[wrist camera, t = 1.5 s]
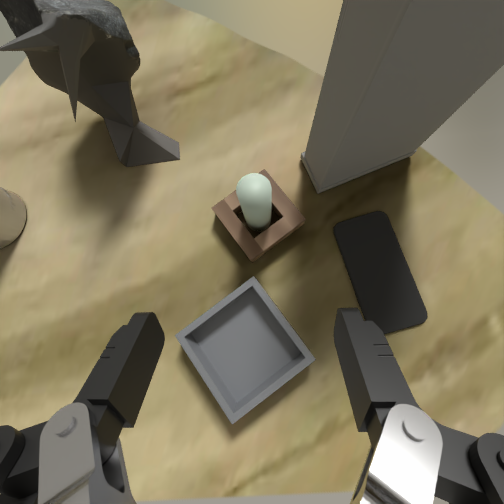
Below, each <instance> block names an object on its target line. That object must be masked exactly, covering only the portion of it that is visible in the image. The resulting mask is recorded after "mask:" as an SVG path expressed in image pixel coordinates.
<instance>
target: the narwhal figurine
mask: <svg viewBox="0 0 504 504" xmlns="http://www.w3.org/2000/svg"><path fill="white" fill-rule="evenodd" d="M0 11H1V12H2V14H3V15H4V17H5V18H6V20H7V22H8V24H9V26H10V28H11V29H12V31H13V33H14V34H15V36H16V39H14V40H12V41H10V42H9V43H7V44H5V45H3V46H1V47H0V51H24V52H25V53H26V55H27V57H28V59H29V62H30V65H31V67H32V69H33V70H34V72H35V73H36V74H37V75H38V77H39V78H40V79H41V80H42V81H43V82H44V83H46V84H47V85H49V86H51V87H54V88H56V89H58V90H61V91H63V92H65V93H67V94H68V95H69V98H70V102H71V106H72V110H73V115H74V119H75V122H76V108H77V101H79V102H80V103H82V104H84V105H85V106H87V107H88V108H90V109H91V110H93V111H94V112H96V113H97V114H99V115H100V116H102V117H103V118H104V121H105V123H106V126H107V129H108V131H109V134H110V137H111V139H112V142H113V145H114V147H115V150H116V153H117V155H118V158H119V161H120V162H121V163H122V164H124V165H125V166H126V167H130V166H137V165H144V164H151V163H158V162H165V161H172V160H179V159H180V153H179V143H178V142H177V141H175V140H173V139H171V138H169V137H167V136H166V135H164V134H162V133H160V132H158V131H157V130H155V129H153V128H151V127H149V126H147V125H146V124H144V123H142V122H140V121H139V117H138V113H137V110H136V106H135V102H134V98H133V95H132V91H131V77H132V75H133V74H134V73H135V72H136V71H137V70H138V68H139V66H140V58H139V52H138V50H137V48H136V47H135V45H134V43H133V39H132V37H131V35H130V33H129V31H128V28H127V25H126V23H125V21H124V18H123V17H122V14H121V11H120V9H119V8H118V7H116V6H114V5H113V4H112V3H111V2H109V1H105V0H0Z"/></svg>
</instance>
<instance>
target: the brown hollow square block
mask: <svg viewBox="0 0 504 504" xmlns="http://www.w3.org/2000/svg"><path fill="white" fill-rule="evenodd" d="M258 174H261V175H263V176H265V177H266V178H267V179H268V180H269V181H270V184H271V187H272V206H271V208H272V209H273V211H274V212H275V213H276V214H277V216H278V217H279V218H280V220H278V221H277V222H276V223H274V224H273V225H272V226H270V227H269V228H268V229H266V230H265V231H264V232H262V233H261V234H260V235H258V236H257V237H256V238H253V237H252V235H251V234H250V233H249V231H248V230H247V229H246V227H245V226H244V225H243V224H242V222H241V221H240V220H239V218H238V217H237V216H236V215H238V214H239V213H240V212H242V208H241V205H240V203H239V200H238V197H237V194H236V190H235V191H234V192H232V193H231V194H230V195H228V196H227V197H226V198H224V199H223V200H221V201H220V202H219V203H217V204H216V205H215V206H213V207H212V210H213V211H214V212H215V214H216V215H217V217H218V218H219V219H220V221H221V222H222V223H223V225H224V226H225V227H226V229H227V230H228V231H229V233H230V234H231V235H232V237H233V238H234V239H235V241H236V242H237V243H238V245H239V246H240V247H241V249H242V250H243V251H244V252H245V254H246V255H247V256H248V258H249V259H250V260H251V262H252V263H253V262H254V261H255V260H257V259H258V258H259V257H261V256H262V255H263V254H265V253H266V252H267V251H269V250H270V249H271V248H273V247H274V246H275V245H277V244H278V243H279V242H281V241H282V240H283V239H285V238H286V237H287V236H289V235H290V234H291V233H293V232H294V231H295V230H297V229H298V228H299V227H301V226H302V225H303V224H304V222H305V220H306V219H305V217H304V216H303V215H302V214H301V213H300V211H299V210H298V209H297V208H296V206H295V205H294V204H293V203H292V202H291V200H290V199H289V198H288V197H287V196H286V194H285V193H284V192H283V191H282V190H281V188H280V187H279V186H278V185H277V184H276V182H275V181H274V180H273V179H272V178H271V176H270V175H269V174H268V173H267V172H266V170H265V169H264V170H262V171H261V172H260V173H258Z"/></svg>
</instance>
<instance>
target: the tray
mask: <svg viewBox="0 0 504 504" xmlns="http://www.w3.org/2000/svg"><path fill="white" fill-rule="evenodd" d="M175 336H176V338H177V340H178V341H179V343H180V344H181V346H182V347H183V349H184V350H185V352H186V354H187V355H188V357H189V358H190V360H191V361H192V363H193V364H194V366H195V368H196V369H197V371H198V372H199V374H200V375H201V377H202V378H203V380H204V382H205V383H206V385H207V386H208V388H209V389H210V391H211V392H212V394H213V396H214V397H215V399H216V400H217V402H218V403H219V405H220V407H221V408H222V410H223V411H224V413H225V414H226V416H227V417H228V419H229V421H230V422H231V424H234V423H235V422H236V421H237V420H239V419H240V418H241V417H243V416H244V415H245V414H246V413H248V412H249V411H250V410H252V409H253V408H254V407H255V406H257V405H258V404H259V403H261V402H262V401H263V400H264V399H266V398H267V397H268V396H270V395H271V394H272V393H273V392H275V391H276V390H277V389H279V388H280V387H281V386H282V385H284V384H285V383H286V382H288V381H289V380H290V379H291V378H293V377H294V376H295V375H297V374H298V373H299V372H301V371H302V370H303V369H304V368H306V367H307V366H308V365H310V364H311V363H312V362H313V361H315V360H316V359H315V358H314V356H313V355H312V353H311V352H310V350H309V349H308V348H307V346H306V345H305V344H304V342H303V341H302V340H301V338H300V337H299V336H298V334H297V333H296V332H295V330H294V329H293V327H292V326H291V325H290V323H289V322H288V321H287V319H286V318H285V317H284V315H283V314H282V313H281V311H280V310H279V309H278V307H277V306H276V305H275V303H274V302H273V301H272V299H271V298H270V297H269V295H268V294H267V293H266V291H265V290H264V289H263V287H262V286H261V284H260V283H259V282H258V280H257V279H256V278H255V277H254V276H253V277H252V278H250V279H249V280H248V281H246V282H245V283H244V284H242V285H241V286H240V287H238V288H237V289H236V290H234V291H233V292H232V293H231V294H229V295H228V296H227V297H225V298H224V299H223V300H221V301H220V302H219V303H217V304H216V305H215V306H213V307H212V308H211V309H209V310H208V311H207V312H205V313H204V314H203V315H201V316H200V317H199V318H197V319H196V320H195V321H193V322H192V323H191V324H189V325H188V326H187V327H185V328H184V329H183V330H181V331H180V332H179V333H177V334H176V335H175Z"/></svg>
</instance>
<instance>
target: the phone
mask: <svg viewBox="0 0 504 504" xmlns="http://www.w3.org/2000/svg"><path fill="white" fill-rule="evenodd" d="M334 235H335V238H336V241H337V244H338V246H339V249H340V252H341V255H342V257H343V260H344V263H345V266H346V269H347V271H348V274H349V277H350V280H351V282H352V285H353V288H354V291H355V294H356V297H357V300H358V303H359V305H360V307H361V310H362V313H363V315H364V318H365V321H373V322H374V323H375V324H376V325H377V326H378V327H379V328H380V329H381V330H382V331H383V333H384V334H387V333H390V332H394V331H397V330H401V329H404V328H408V327H411V326H415V325H418V324H421V323H423V322H425V321H426V319H427V311H426V308H425V306H424V303H423V301H422V298H421V296H420V294H419V291H418V289H417V286H416V284H415V281H414V279H413V277H412V274H411V272H410V269H409V267H408V265H407V262H406V260H405V257H404V255H403V252H402V250H401V248H400V245H399V243H398V240H397V238H396V235H395V233H394V231H393V228H392V226H391V223H390V221H389V219H388V217H387V215H386V214H385V213H384V212H381V211H376V212H372V213H369V214H366V215H362V216H359V217H356V218H352V219H349V220H346V221H342V222H340V223H338V224H336V226H335V227H334Z"/></svg>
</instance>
